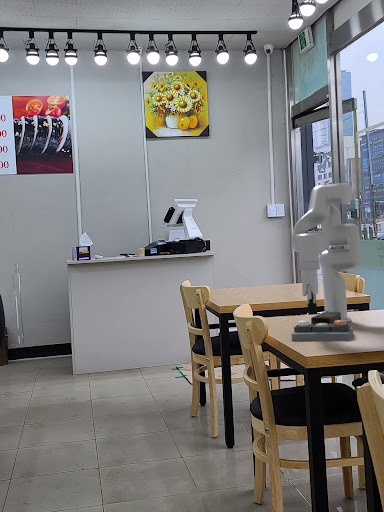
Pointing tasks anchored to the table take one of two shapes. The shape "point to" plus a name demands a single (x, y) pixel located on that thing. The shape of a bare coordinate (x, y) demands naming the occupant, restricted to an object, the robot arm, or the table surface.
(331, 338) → the button panel
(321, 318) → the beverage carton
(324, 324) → the sage button
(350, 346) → the table surface
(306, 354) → the table surface
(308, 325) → the cream button
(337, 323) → the terracotta button
